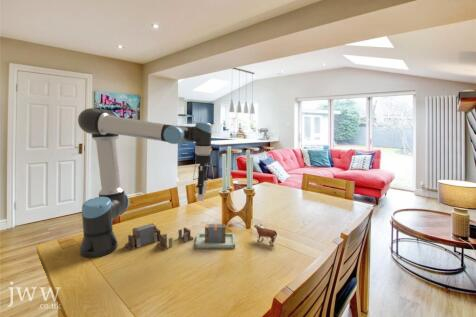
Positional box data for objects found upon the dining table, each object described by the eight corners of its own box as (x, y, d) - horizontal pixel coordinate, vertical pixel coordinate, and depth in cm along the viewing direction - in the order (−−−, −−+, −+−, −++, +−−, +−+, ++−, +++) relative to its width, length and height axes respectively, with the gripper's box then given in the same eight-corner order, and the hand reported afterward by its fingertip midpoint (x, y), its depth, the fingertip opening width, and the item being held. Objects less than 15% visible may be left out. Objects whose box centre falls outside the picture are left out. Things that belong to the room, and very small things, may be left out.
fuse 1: (136, 247, 118) (135, 231, 117) (133, 244, 121) (132, 228, 120) (156, 240, 125) (156, 225, 124) (153, 238, 128) (152, 223, 126)
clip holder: (163, 249, 116) (162, 239, 115) (157, 245, 120) (156, 235, 120) (193, 239, 127) (193, 230, 126) (186, 235, 131) (186, 226, 131)
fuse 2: (205, 242, 122) (205, 227, 121) (205, 239, 126) (205, 224, 125) (225, 242, 122) (225, 227, 121) (225, 239, 126) (225, 224, 125)
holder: (130, 250, 115) (129, 240, 114) (125, 245, 119) (125, 235, 119) (163, 239, 126) (163, 230, 125) (157, 235, 131) (157, 226, 130)
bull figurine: (255, 236, 132) (256, 221, 131) (278, 244, 123) (278, 228, 122) (250, 239, 128) (251, 223, 127) (273, 247, 120) (274, 231, 119)
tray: (194, 248, 117) (194, 245, 117) (197, 236, 130) (197, 233, 130) (235, 248, 118) (235, 244, 118) (234, 236, 131) (234, 233, 131)
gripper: (208, 157, 110) (207, 204, 112) (212, 152, 134) (211, 190, 137) (191, 157, 109) (190, 204, 112) (198, 151, 134) (197, 189, 137)
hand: (202, 196), depth 125 cm, fingers open, 13 cm apart
